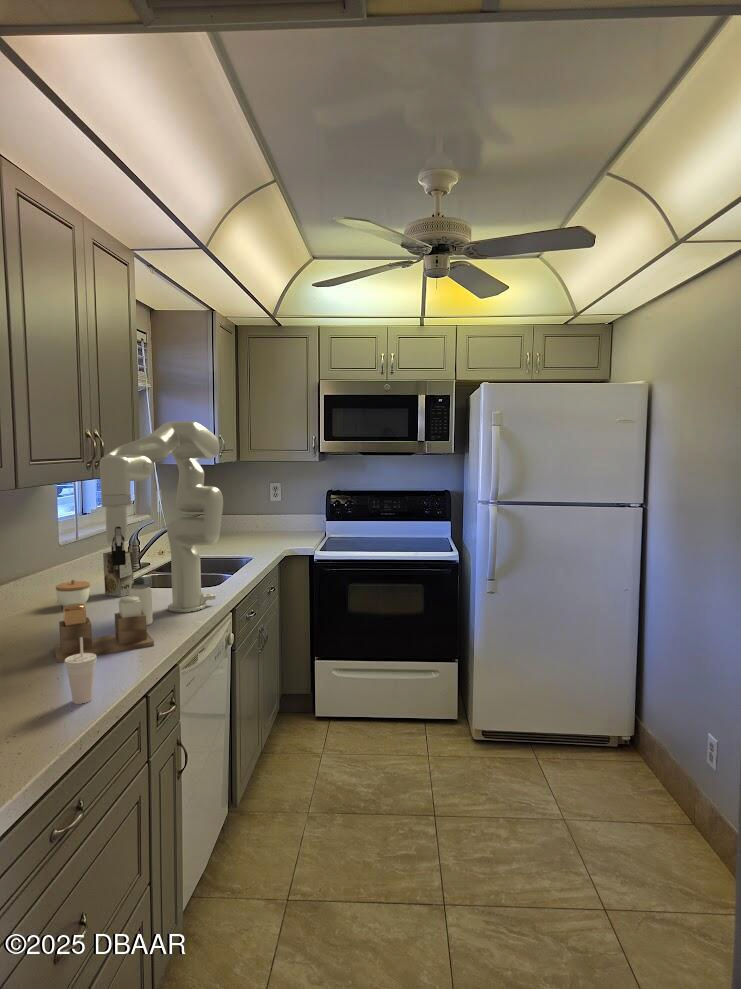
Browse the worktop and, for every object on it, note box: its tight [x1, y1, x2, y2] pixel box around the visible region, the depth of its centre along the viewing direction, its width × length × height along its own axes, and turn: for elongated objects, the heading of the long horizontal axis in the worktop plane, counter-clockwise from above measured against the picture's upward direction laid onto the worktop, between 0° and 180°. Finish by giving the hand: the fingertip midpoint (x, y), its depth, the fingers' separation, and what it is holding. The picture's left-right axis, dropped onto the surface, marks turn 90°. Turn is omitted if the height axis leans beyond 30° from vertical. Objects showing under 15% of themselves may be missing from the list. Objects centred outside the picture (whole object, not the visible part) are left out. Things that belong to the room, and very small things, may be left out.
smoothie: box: [64, 637, 98, 705], centre depth 128 cm, size 6×6×14 cm
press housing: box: [53, 610, 155, 663], centre depth 163 cm, size 24×12×8 cm, turn 122°
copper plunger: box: [62, 603, 87, 627], centre depth 158 cm, size 5×5×8 cm
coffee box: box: [102, 550, 135, 598], centre depth 221 cm, size 9×6×16 cm
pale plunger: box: [118, 595, 141, 618], centre depth 166 cm, size 5×5×8 cm
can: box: [129, 584, 154, 627], centre depth 184 cm, size 6×6×12 cm
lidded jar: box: [55, 579, 91, 607], centre depth 205 cm, size 11×11×9 cm
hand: (118, 561), depth 163 cm, fingers open, 9 cm apart
